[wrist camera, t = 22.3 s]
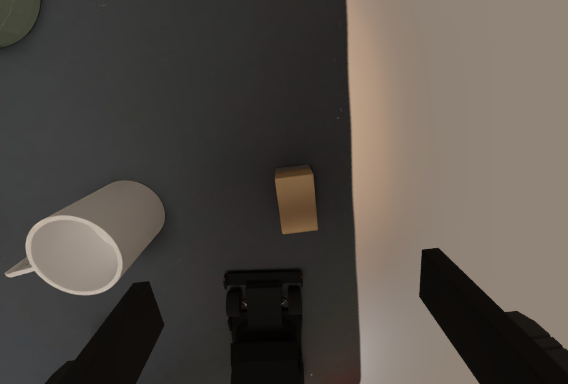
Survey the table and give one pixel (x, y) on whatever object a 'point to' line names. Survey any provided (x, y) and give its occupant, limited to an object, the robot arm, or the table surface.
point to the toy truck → (265, 328)
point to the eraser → (296, 198)
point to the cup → (93, 238)
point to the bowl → (17, 19)
